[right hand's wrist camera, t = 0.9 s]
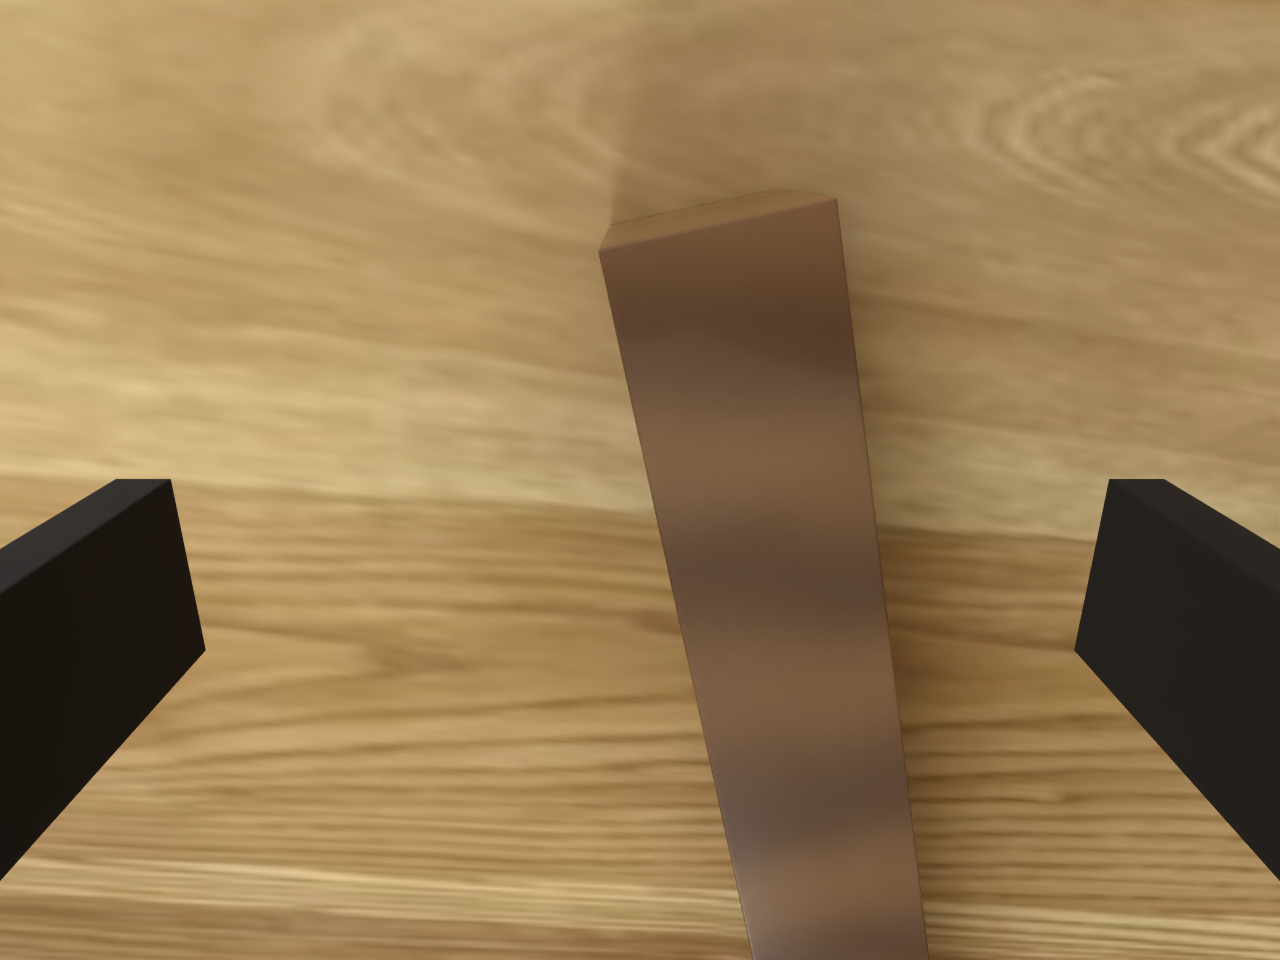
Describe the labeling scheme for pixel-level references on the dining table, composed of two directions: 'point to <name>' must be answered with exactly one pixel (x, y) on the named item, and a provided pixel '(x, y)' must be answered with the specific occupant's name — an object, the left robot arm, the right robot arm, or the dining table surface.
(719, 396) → the beam
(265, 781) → the dining table surface
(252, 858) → the dining table surface
